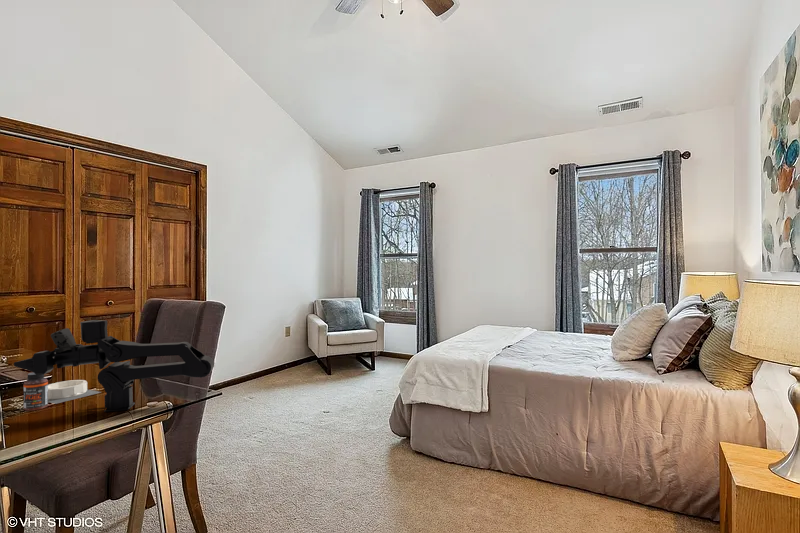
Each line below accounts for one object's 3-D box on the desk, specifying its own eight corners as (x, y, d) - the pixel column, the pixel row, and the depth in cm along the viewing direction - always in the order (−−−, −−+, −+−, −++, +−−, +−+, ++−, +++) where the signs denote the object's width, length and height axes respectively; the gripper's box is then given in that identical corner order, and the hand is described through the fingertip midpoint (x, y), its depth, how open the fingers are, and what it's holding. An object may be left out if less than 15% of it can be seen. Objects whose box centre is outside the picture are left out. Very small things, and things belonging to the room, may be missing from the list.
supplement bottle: (22, 413, 133) (21, 376, 133) (24, 408, 138) (23, 372, 138) (47, 409, 136) (46, 373, 136) (48, 404, 141) (48, 369, 141)
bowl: (92, 388, 158) (92, 378, 158) (77, 397, 147) (77, 387, 147) (54, 391, 155) (54, 381, 155) (35, 401, 144) (35, 390, 144)
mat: (101, 393, 153) (101, 392, 153) (55, 404, 141) (55, 403, 141) (74, 387, 162) (74, 386, 162) (28, 398, 149) (28, 397, 149)
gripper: (95, 325, 143) (39, 329, 139) (65, 333, 124) (1, 339, 121) (97, 358, 143) (42, 364, 139) (68, 371, 125) (4, 379, 121)
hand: (23, 361), depth 130 cm, fingers open, 9 cm apart
